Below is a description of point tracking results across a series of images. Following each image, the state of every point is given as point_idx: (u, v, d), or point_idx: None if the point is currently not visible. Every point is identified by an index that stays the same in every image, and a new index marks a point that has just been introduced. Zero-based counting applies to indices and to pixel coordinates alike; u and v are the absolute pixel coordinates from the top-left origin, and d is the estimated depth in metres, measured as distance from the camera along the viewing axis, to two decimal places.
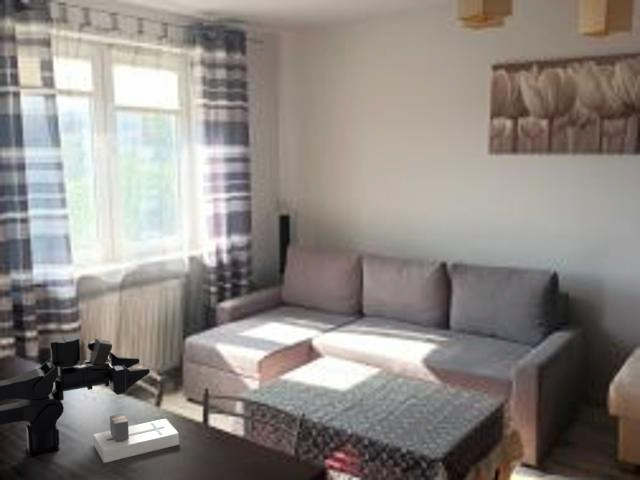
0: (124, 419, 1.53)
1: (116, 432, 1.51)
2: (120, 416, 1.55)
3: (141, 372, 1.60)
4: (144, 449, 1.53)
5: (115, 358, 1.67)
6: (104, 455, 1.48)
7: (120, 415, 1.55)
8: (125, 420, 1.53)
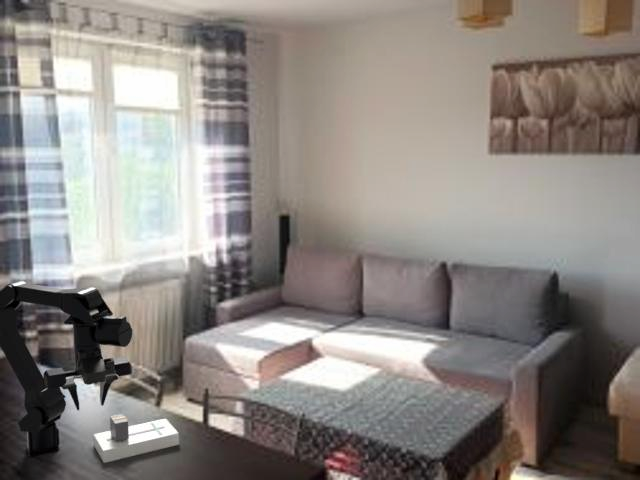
0: (124, 419, 1.53)
1: (116, 432, 1.51)
2: (120, 416, 1.55)
3: (73, 401, 1.47)
4: (144, 449, 1.53)
5: (104, 382, 1.49)
6: (104, 455, 1.48)
7: (120, 415, 1.55)
8: (125, 420, 1.53)
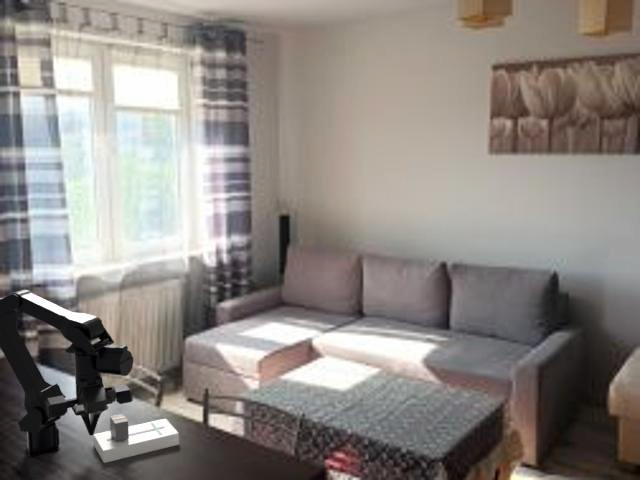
0: (124, 419, 1.53)
1: (116, 432, 1.51)
2: (120, 416, 1.55)
3: (86, 426, 1.50)
4: (144, 449, 1.53)
5: (94, 412, 1.49)
6: (104, 455, 1.48)
7: (120, 415, 1.55)
8: (125, 420, 1.53)
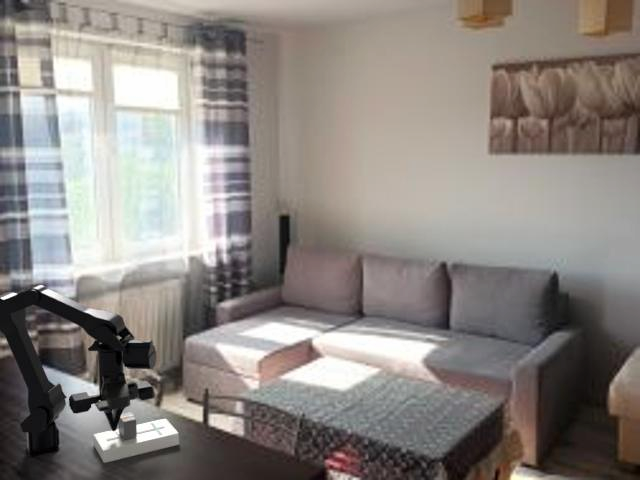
0: (132, 417, 1.54)
1: (124, 430, 1.52)
2: (128, 414, 1.56)
3: (109, 422, 1.52)
4: (144, 449, 1.53)
5: (116, 408, 1.51)
6: (104, 455, 1.48)
7: (128, 413, 1.56)
8: (133, 418, 1.54)
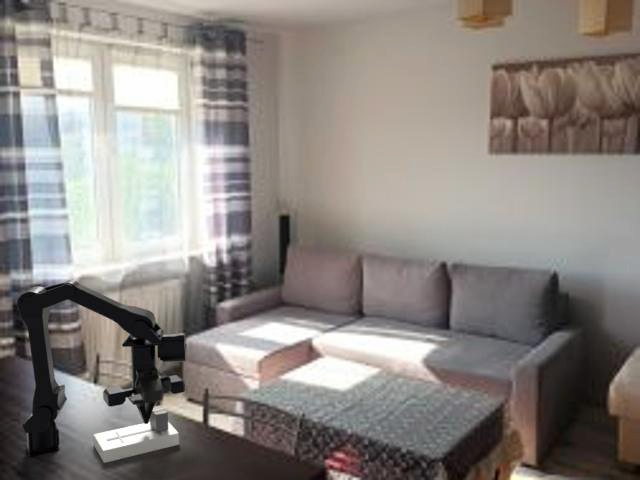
0: (164, 410, 1.58)
1: (157, 423, 1.56)
2: (159, 408, 1.60)
3: (141, 415, 1.56)
4: (144, 449, 1.53)
5: (149, 401, 1.56)
6: (104, 455, 1.48)
7: (159, 407, 1.61)
8: (165, 411, 1.58)
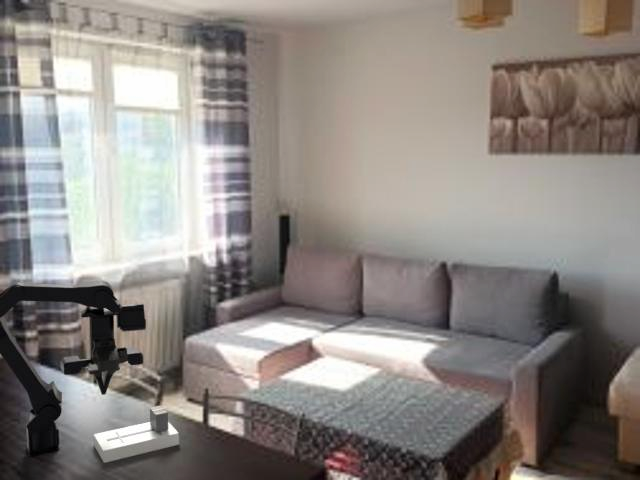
0: (164, 410, 1.58)
1: (157, 423, 1.56)
2: (160, 408, 1.60)
3: None
4: (144, 449, 1.53)
5: (106, 372, 1.57)
6: (104, 455, 1.48)
7: (159, 407, 1.61)
8: (165, 411, 1.58)
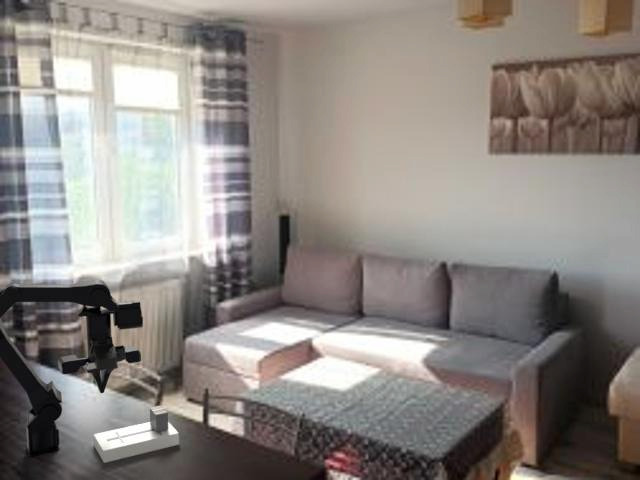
0: (164, 410, 1.58)
1: (157, 423, 1.56)
2: (160, 408, 1.60)
3: (97, 384, 1.58)
4: (144, 449, 1.53)
5: (104, 370, 1.57)
6: (104, 455, 1.48)
7: (159, 407, 1.61)
8: (165, 411, 1.58)
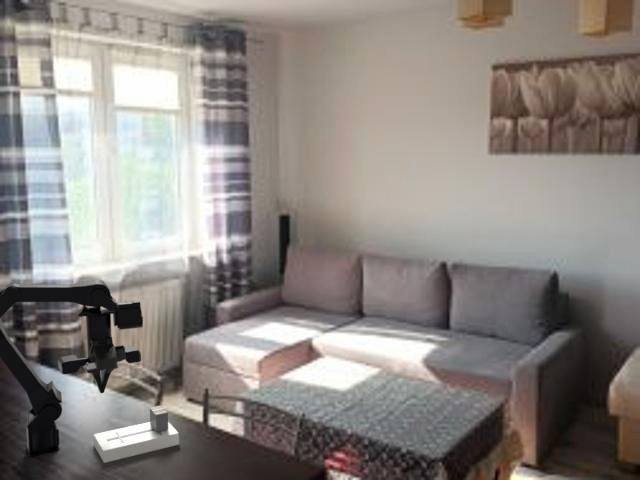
0: (164, 410, 1.58)
1: (157, 423, 1.56)
2: (160, 408, 1.60)
3: (97, 384, 1.58)
4: (144, 449, 1.53)
5: (104, 370, 1.57)
6: (104, 455, 1.48)
7: (159, 407, 1.61)
8: (165, 411, 1.58)
